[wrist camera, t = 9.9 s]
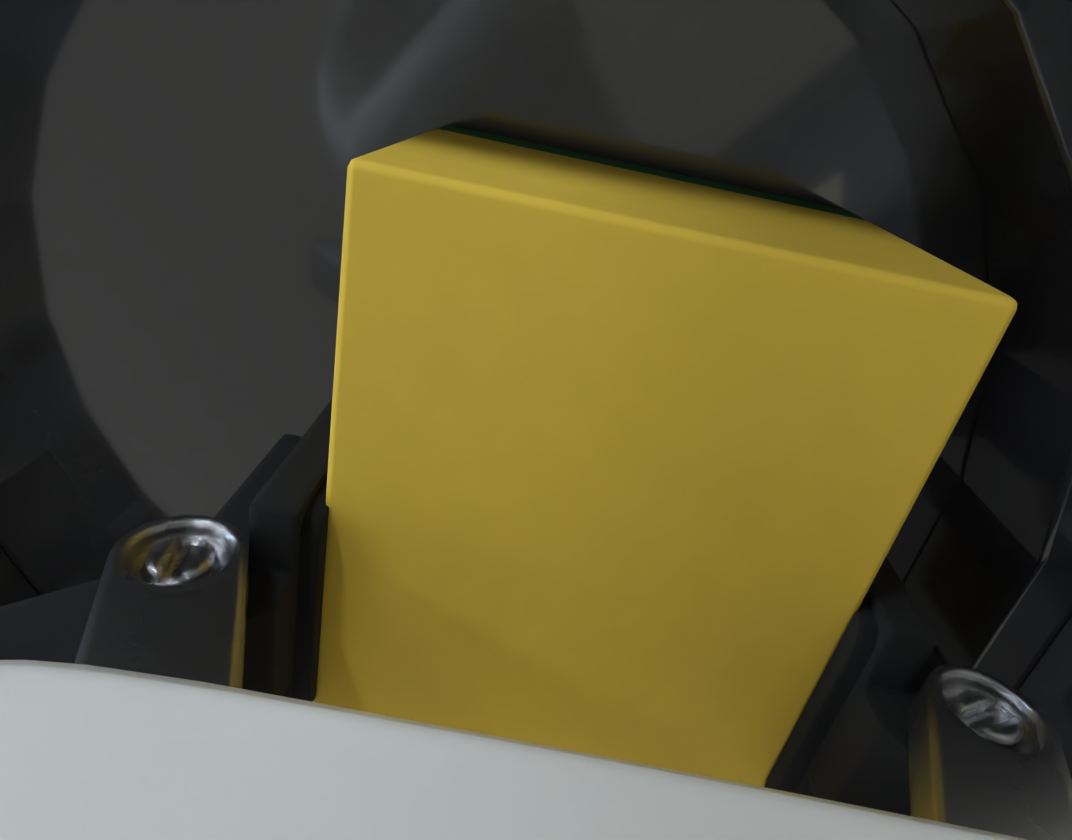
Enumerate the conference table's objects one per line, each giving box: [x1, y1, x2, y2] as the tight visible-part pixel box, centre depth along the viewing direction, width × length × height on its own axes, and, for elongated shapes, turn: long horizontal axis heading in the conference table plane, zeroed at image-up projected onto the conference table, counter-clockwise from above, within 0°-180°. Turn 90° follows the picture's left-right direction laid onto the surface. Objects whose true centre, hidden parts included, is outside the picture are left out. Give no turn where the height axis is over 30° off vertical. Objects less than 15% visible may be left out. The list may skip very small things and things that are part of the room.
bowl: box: [0, 0, 1072, 788], centre depth 10 cm, size 21×21×6 cm
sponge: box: [313, 125, 1017, 787], centre depth 10 cm, size 9×6×4 cm, turn 169°
